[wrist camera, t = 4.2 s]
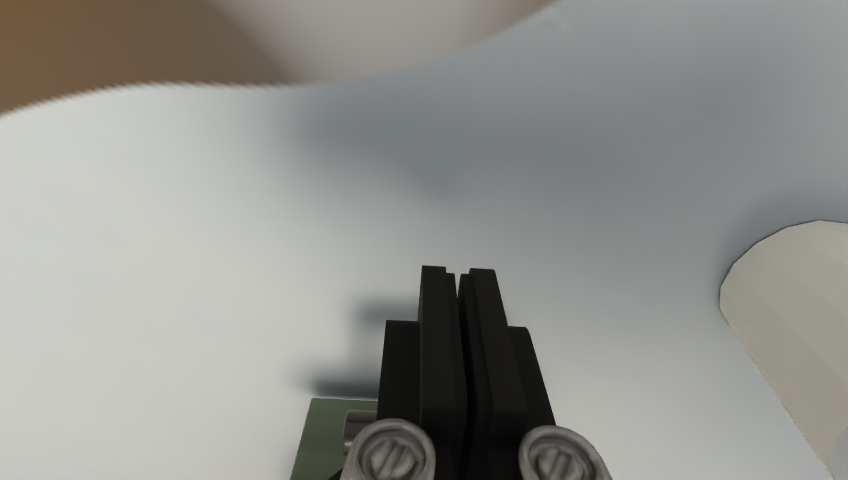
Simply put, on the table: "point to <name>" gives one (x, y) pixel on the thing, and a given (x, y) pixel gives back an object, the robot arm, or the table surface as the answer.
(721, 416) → the table surface
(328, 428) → the drawer
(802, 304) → the white cup
